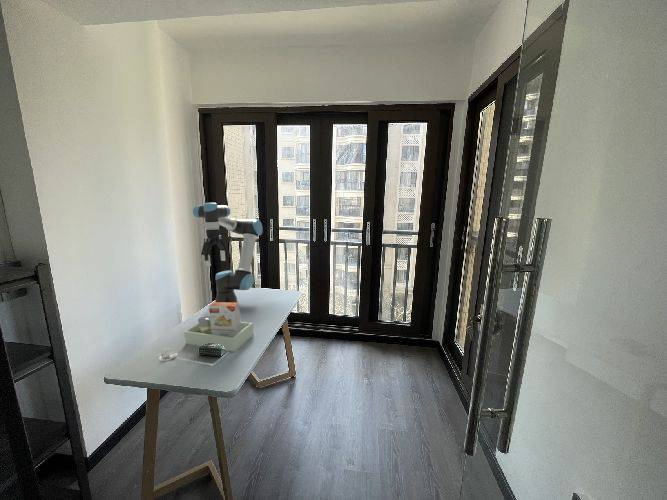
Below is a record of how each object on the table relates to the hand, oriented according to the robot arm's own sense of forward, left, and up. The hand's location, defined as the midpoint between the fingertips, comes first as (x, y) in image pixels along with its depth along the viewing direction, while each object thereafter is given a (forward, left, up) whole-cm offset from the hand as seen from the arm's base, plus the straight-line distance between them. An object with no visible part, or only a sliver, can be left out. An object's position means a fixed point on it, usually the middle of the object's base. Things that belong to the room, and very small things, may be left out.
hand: (216, 263), depth 170 cm
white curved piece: (+45, +3, -37) cm, 59 cm away
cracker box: (+23, +22, -36) cm, 48 cm away
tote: (+23, +17, -37) cm, 47 cm away
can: (+23, +9, -36) cm, 44 cm away
